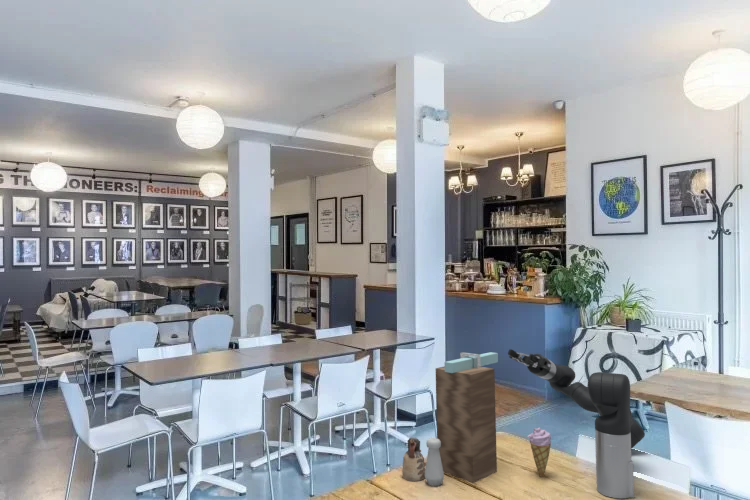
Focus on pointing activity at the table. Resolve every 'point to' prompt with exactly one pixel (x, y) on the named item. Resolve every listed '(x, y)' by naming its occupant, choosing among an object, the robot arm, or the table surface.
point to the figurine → (413, 462)
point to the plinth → (467, 422)
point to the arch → (475, 358)
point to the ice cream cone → (540, 449)
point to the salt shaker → (434, 463)
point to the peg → (470, 362)
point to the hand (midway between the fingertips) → (519, 354)
